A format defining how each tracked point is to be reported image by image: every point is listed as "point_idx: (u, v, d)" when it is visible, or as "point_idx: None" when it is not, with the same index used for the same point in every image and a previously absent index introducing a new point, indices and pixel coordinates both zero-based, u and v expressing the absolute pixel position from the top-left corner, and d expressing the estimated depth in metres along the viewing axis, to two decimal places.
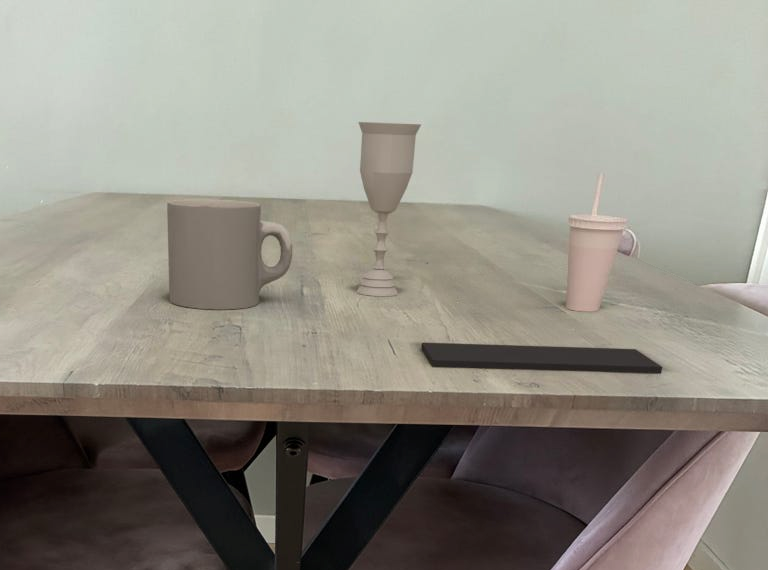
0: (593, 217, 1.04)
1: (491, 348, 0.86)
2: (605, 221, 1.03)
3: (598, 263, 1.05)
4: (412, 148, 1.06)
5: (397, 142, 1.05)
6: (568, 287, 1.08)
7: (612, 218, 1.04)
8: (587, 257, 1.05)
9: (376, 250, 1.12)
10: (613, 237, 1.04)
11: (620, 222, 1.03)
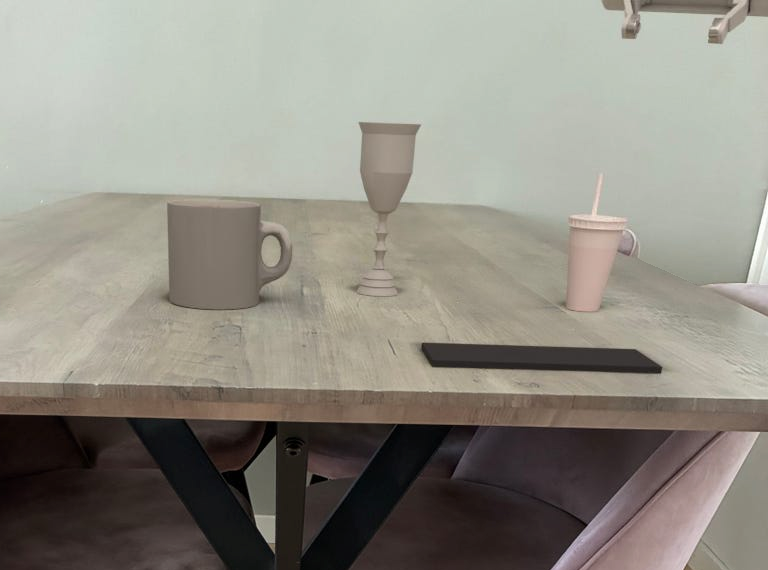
0: (593, 217, 1.04)
1: (491, 348, 0.86)
2: (605, 221, 1.03)
3: (598, 263, 1.05)
4: (412, 148, 1.06)
5: (397, 142, 1.05)
6: (568, 287, 1.08)
7: (612, 218, 1.04)
8: (587, 257, 1.05)
9: (376, 250, 1.12)
10: (613, 237, 1.04)
11: (620, 222, 1.03)
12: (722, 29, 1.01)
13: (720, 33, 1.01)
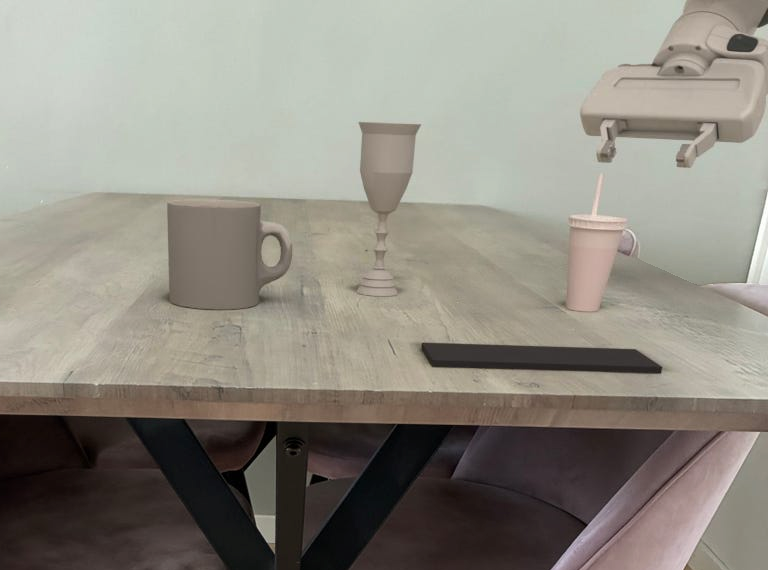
0: (593, 217, 1.04)
1: (491, 348, 0.86)
2: (605, 221, 1.03)
3: (598, 263, 1.05)
4: (412, 148, 1.06)
5: (397, 142, 1.05)
6: (568, 287, 1.08)
7: (612, 218, 1.04)
8: (587, 257, 1.05)
9: (376, 250, 1.12)
10: (613, 237, 1.04)
11: (620, 222, 1.03)
12: (688, 155, 1.05)
13: (687, 158, 1.05)
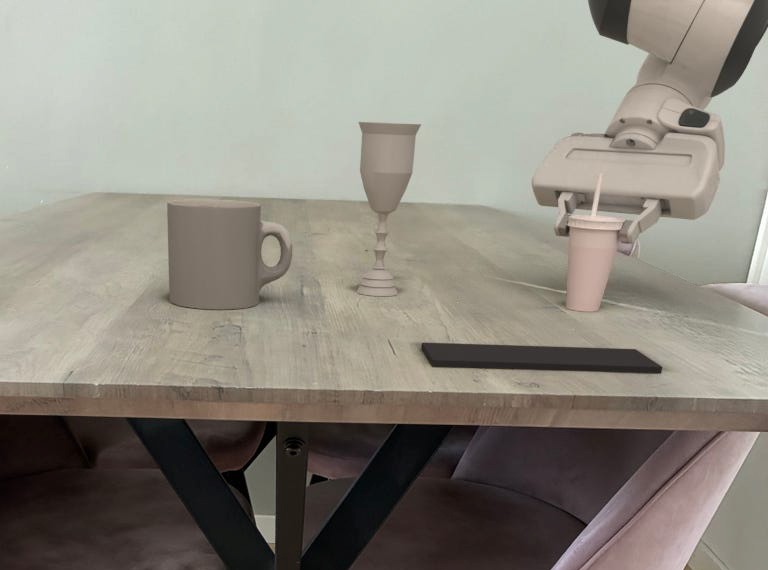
0: (593, 217, 1.04)
1: (491, 348, 0.86)
2: (605, 221, 1.03)
3: (597, 263, 1.05)
4: (412, 148, 1.06)
5: (397, 142, 1.05)
6: (568, 287, 1.08)
7: (612, 218, 1.04)
8: (587, 257, 1.05)
9: (376, 250, 1.12)
10: (613, 237, 1.04)
11: (620, 222, 1.03)
12: (631, 231, 1.03)
13: (629, 235, 1.03)
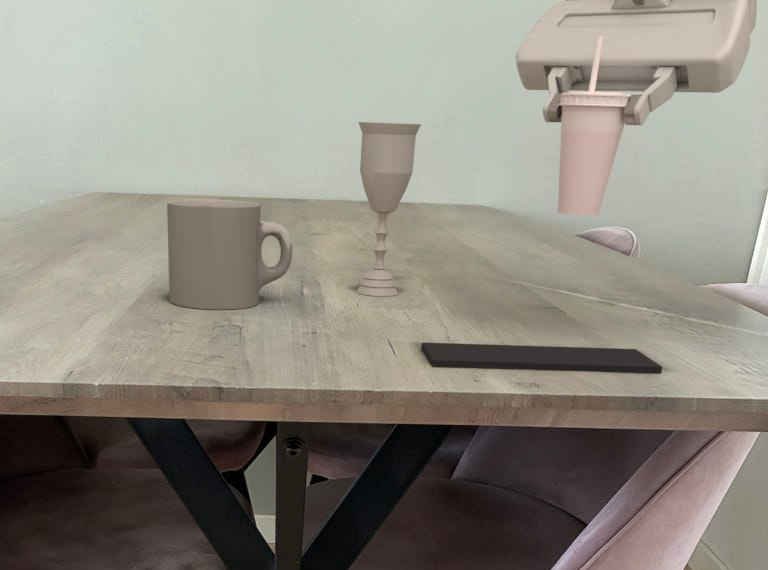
0: (591, 92, 0.83)
1: (491, 348, 0.86)
2: (606, 95, 0.82)
3: (597, 152, 0.84)
4: (412, 148, 1.06)
5: (397, 142, 1.05)
6: (560, 185, 0.87)
7: (615, 93, 0.83)
8: (584, 144, 0.84)
9: (376, 250, 1.12)
10: (616, 117, 0.83)
11: (625, 97, 0.82)
12: (639, 108, 0.81)
13: (637, 112, 0.82)
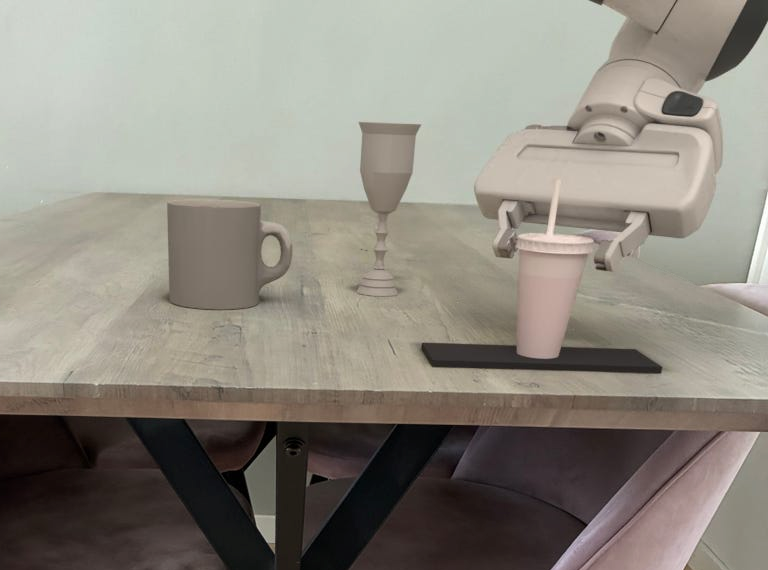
0: (548, 237, 0.79)
1: (491, 348, 0.86)
2: (563, 243, 0.78)
3: (555, 297, 0.80)
4: (412, 148, 1.06)
5: (397, 142, 1.05)
6: (518, 327, 0.84)
7: (573, 238, 0.79)
8: (542, 290, 0.80)
9: (376, 250, 1.12)
10: (575, 264, 0.79)
11: (583, 244, 0.78)
12: (610, 255, 0.77)
13: (608, 260, 0.77)
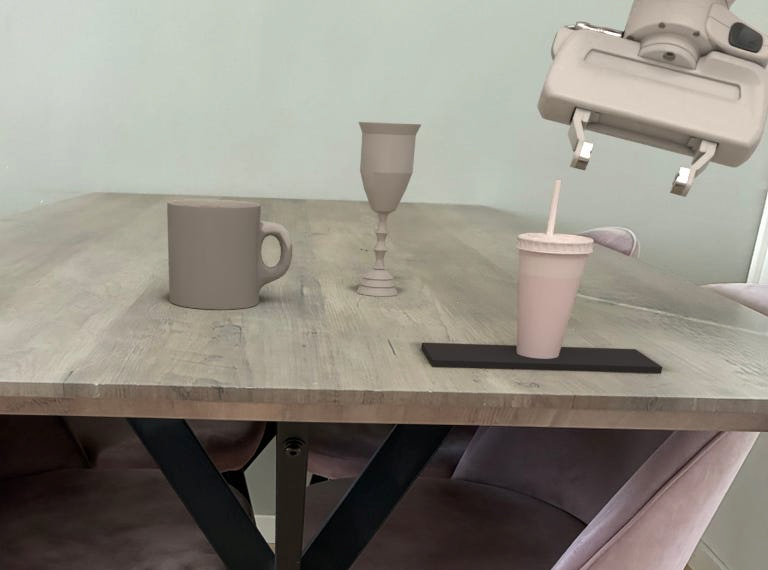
0: (548, 237, 0.79)
1: (491, 348, 0.86)
2: (563, 243, 0.78)
3: (555, 298, 0.80)
4: (412, 148, 1.06)
5: (397, 142, 1.05)
6: (518, 327, 0.84)
7: (573, 238, 0.79)
8: (542, 290, 0.80)
9: (376, 250, 1.12)
10: (575, 264, 0.79)
11: (583, 244, 0.78)
12: (690, 183, 0.86)
13: (687, 187, 0.86)
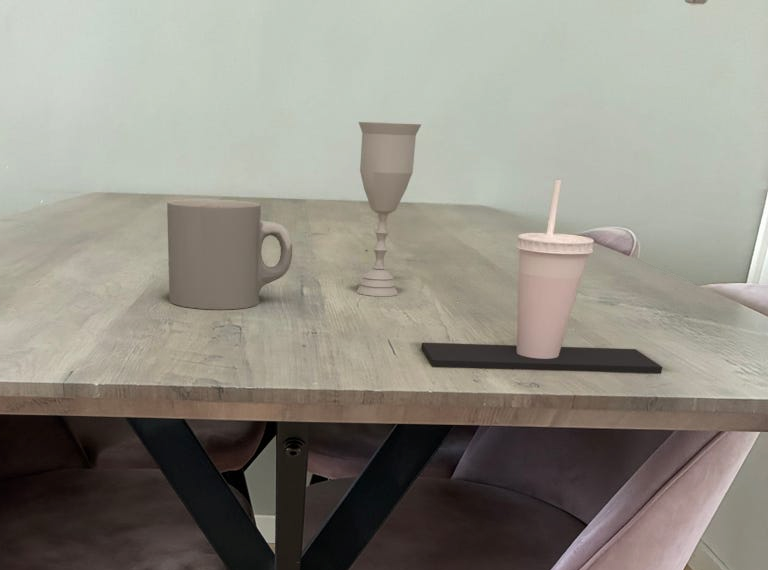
0: (548, 237, 0.79)
1: (491, 348, 0.86)
2: (563, 243, 0.78)
3: (555, 298, 0.80)
4: (412, 148, 1.06)
5: (397, 142, 1.05)
6: (518, 327, 0.84)
7: (573, 238, 0.79)
8: (542, 290, 0.80)
9: (376, 250, 1.12)
10: (575, 264, 0.79)
11: (583, 244, 0.78)
12: None
13: (703, 2, 0.91)
